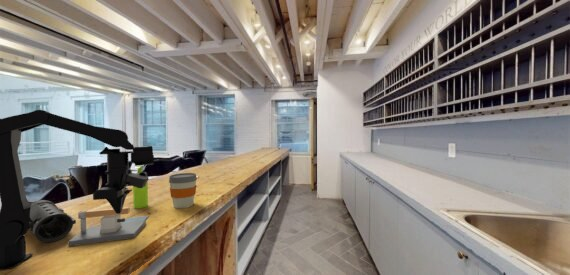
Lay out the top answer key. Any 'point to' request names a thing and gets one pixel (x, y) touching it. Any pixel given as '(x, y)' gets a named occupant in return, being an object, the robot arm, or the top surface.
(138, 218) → the mat
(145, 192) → the soap dispenser
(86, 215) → the tan wooden bar
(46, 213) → the muzzle brake
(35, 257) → the top surface
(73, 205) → the top surface
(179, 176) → the reusable coffee cup
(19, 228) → the robot arm
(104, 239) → the socket block
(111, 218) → the plug
